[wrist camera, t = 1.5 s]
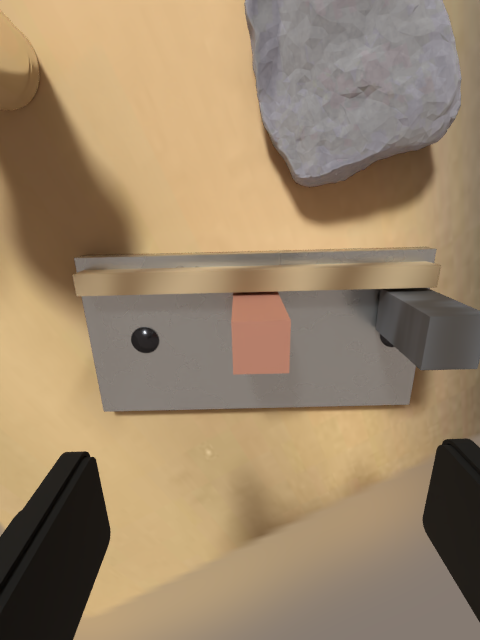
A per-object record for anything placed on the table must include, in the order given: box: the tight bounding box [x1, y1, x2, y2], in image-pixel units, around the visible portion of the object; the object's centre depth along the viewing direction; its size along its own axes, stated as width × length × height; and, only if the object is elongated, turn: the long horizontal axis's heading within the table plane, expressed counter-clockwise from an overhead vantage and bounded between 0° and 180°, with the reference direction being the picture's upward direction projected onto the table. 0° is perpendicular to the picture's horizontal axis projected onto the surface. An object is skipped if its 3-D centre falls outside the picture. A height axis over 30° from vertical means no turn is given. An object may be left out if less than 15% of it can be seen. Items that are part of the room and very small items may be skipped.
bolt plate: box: [74, 247, 436, 412], centre depth 24 cm, size 24×12×1 cm, turn 91°
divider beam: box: [72, 261, 480, 370], centre depth 20 cm, size 23×6×6 cm, turn 91°
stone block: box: [245, 0, 461, 187], centre depth 18 cm, size 12×5×10 cm
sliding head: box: [231, 291, 291, 375], centre depth 20 cm, size 3×4×6 cm
